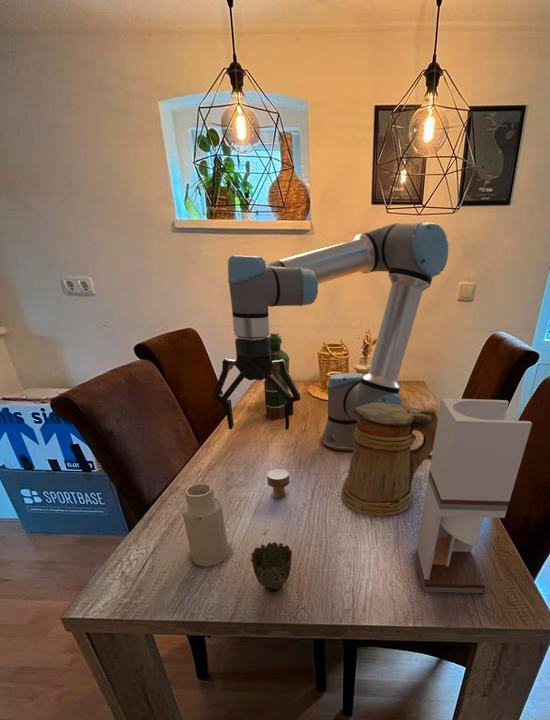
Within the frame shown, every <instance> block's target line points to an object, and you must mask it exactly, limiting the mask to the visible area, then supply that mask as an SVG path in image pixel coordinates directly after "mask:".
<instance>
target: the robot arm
mask: <svg viewBox="0 0 550 720" xmlns="http://www.w3.org/2000/svg"><path fill="white" fill-rule="evenodd" d="M449 246H450V245H449V241H448V238H447V234H446V232H445V230H444V228H443V227H442V226H441V225H440V224H438V223H435V222H427V221H419V222H404V223H403V222H402V223H397V222H396V223H390V224H386V225H384V226H381V227H377V228H375V229H372V230H369V231H366V232H363V233H359V234H356V236H354V238H353V240H350V241H346V242H343V243H339V244H335V245H331V246H328V247H327V246H326V247H324V248H320V249H315V250H312V251H308V252H304V253H301V254H296V255H294V256H290V257H286V258H282V259H278V260H275V261H274V260H273V261H270V262H267V263H266V259H265V258H264V257H263V256H260V255H259V256H258V255H257V256H256V255H255V256H254V255H231V256H229V258H228V260H227V274H228V275H227V277H228V279H227V281H228V286H229V287H228V288H229V294H230V295H229V296H230V302H231V311H232V314H231V315H232V325H233V335H234V336H235V339H234V344H235V356H236V359H230V358H229V357H225V358H224V359H223V360H222V365H221V366H222V369H221V373H220V375H219V378H218V380H217V383H216V385H215V388H214V390H213V393H212V396H211V399H212V400H213V401H219V402H220V405H221V406H220V407H221V413H222V415H223V416H226V417H227V418H226V419H227V427H228V430H233V428H234V426H235V423H234V414H233V406H232V399H229V398H230V397H231V395H233V393H234V392H235V390H236V389H237V388H238V386H239V385H240V384H241V383H242V382H243V380H244V379H246V380H248V381H254V380H256V381H263V380H265V379H266V380H267V381H268V382H269V383H270V384H271V385H272V386H273V387H274V388H275V389H276V390H277V391H278V392H279V393H280V395H281V396H282V397H283V398H284V399H285V404H284V406H285V417H284V426H285V427H284V428H285V429H284V430H285V431H288V430H290V416H291V417H292V416H293V415H294V403H295V402H299V401H300V400H301V394H300V392H299V389H298V388H297V386H296V384H295V382H294V380H293V378H292V376H291V375H290V372H289V373H288V371H287V369H286V364H285V360H284V359H280V360H278V361H272V359H271V351H270V339H269V336H270V333H271V332H270V319H269V308H270V307H288V306H289V307H291V306H292V307H293V306H294V307H296V306H299V307H303V306H309V305H313V304H314V303H315V301H316V300H317V298H318V294H319V285H320V284H323V283H326V282H329V281H333V280H336V279H339V278H343V277H346V276H349V275H352V274H356V273H359V272H360V273H361V274H365V275H366V274H369V273H373V272H375V273H376V272H384V273H385V272H387V273H388V275H387V277H388V279H389V281H390V283H391V284H390V288H389V293H388V297H387V301H386V305H385V308H384V310H383V311H384V312H383V315H382V319H381V323H380V326H379V327H380V328H379V331H378V333H377V334H378V335H377V338H376V342H375V346H374V349H373V350H374V351H373V354H372V357H371V361H370V365H369V369H368V372H367V373H366V374H363V373H360V372H341V373H336V374H332V375H331V376H330V377H329V378H328V383H327V421H326V424H325V428H324V429H323V432H322V436H321V441H322V444H323V445H324V447H327V448H328V449H331V450H334V451H339V452H340V451H341V452H353V449H354V444H355V439H354V432H355V428H356V425H357V424H358V423H359V421H360V416H359V415H357V414H356V413H354V410H355V409H356V408H357V407H360V406H363V405H366V404H369V403H387V404H395V405H401V406H404V404H403V399H402V397H401V396H400V394H399V393H400V389H401V385H400V384H399V382H398V378H399V374H400V371H401V368H402V365H403V361H404V357H405V354H406V350H407V346H408V343H409V340H410V337H411V333H412V330H413V326H414V322H415V319H416V315H417V312H418V308H419V305H420V301H421V298H422V295H423V292H424V291H425V290H427V289H429V288H430V287H431V284H432V282H433V278H434V277H436V276H439V275H440V274H441V273H442V272H443V271H444V270H445V268H446V266H447V263H448V260H449V253H450V249H449ZM273 366H275V367H276V368H277V370H280V372H281V374H282V376H283V378H284V380H285V382H286V384H287V385H288V387H289V392H288V391H287V390H286V389H285V388H284V387H283V386H282V384H281V383H280V382H279V381H278V380H277V379H276V378H275V377H274V375H273V374H272V373H271V369H272V368H273ZM233 367H235V368H236V369H237V370H238V371H239V374H238V375H237V376H236V378H235V379H234V380H233V382H231V384H230V385H229V387H228V388H227V389H226V390H225V392H224V393H223V394H221V392H222V390H223V387H224V385H225V383H226V380H227V377H228V375H229V372H230V371H231V370H232V369H233ZM427 458H430V459H431V458H432V454H429V455H428V457H427Z"/></svg>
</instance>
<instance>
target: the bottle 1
mask: <svg viewBox="0 0 550 720" xmlns="http://www.w3.org/2000/svg"><path fill="white" fill-rule="evenodd" d="M184 495H185V501H186V503H185V504H183V506H182V508H181V513H182V517H183V522H184V527H185V532H186V536H187V541H188V546H189V550H190V555H191V559H192V561H193V563H194V564H196V565H198V566H200V567H211V566H215V565H218V564H220V563H222V562H223V561H224V560H226V559H227V558H228V555H229V544H228V538H227V531H226V524H225V517H224V511H223V504H222V502H221V500H219V499H217V498H216V497H215V494H214V488H213V486H212V485H211V484H209V483H205V482H199V483H193V484H190V485H189V486H188V487H186V488H185V490H184Z"/></svg>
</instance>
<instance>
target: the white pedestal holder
mask: <svg viewBox="0 0 550 720" xmlns="http://www.w3.org/2000/svg"><path fill="white" fill-rule="evenodd" d="M509 403H510V402H509V401H508V400H506V399H504V400H503V399H482V398H481V399H480V398H479V399H478V398H451V397H450V398H449V397H448V398H447V397H441V398H440V403H439V408H438V414H437V415H438V416H437V418H438V421H437V427H436V433H435V440H434V446H433V450H432V451H431V455H432V458H430V465H429V471H428V476H427V484H426V489H425V496H424V502H423V508H422V514H421V521H420V526H419V533H418V538H417V546H416V551H415V558H416V561H417V567H418V570H419V575H420V579H421V584H422V588H423V592H425V593H426V592H427V593H428V592H429V593H464V594H465V593H468V594H469V593H471V594H483V593H484V590H485V587H486V584H485V582H484V579H483V577H482V575H481V572H480V570H479V567H478V565H477V563H476V560H475V558H474V556H473V553H472V549H473V546H477V544H478V540H479V537H480V533H481V529H482V525H483V522H484V518H493V519H495V518H496V519H505V517H506V515H507V511H508V507H509V504H510V501H511V498H512V494H513V491H514V487H515V483H516V480H517V477H518V473H519V470H520V467H521V463H522V460H523V457H524V453H525V449H526V446H527V442H528V440H529V435H530V433H531V429H532V425H533V422H531V421H530V420H509V419H508V420H507V419H506V415H507V412H508V407H509ZM505 419H506V420H505Z"/></svg>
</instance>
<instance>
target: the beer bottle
mask: <svg viewBox="0 0 550 720" xmlns="http://www.w3.org/2000/svg"><path fill="white" fill-rule="evenodd" d="M271 359H272V361H277V353H276V352H271ZM271 373H272V374H273V375H274V377H275V378H276V379H277V380H278V381H279V382H280V383H281V384H282V386H283V387H284V385H283V381H282V378H281V377H280V375H279V373H278V370H277V368H276V367H275V366H273V368H272V369H271ZM263 385H264V386H263V387H264V401H265V402H264V403H265V413H266V417H267V418H269V419H271V420H272V419H273V420H278V419H279V420H280V419H282V418H285V406H284V404H285V400H284V398H283V397H282V396H281V395H280V393H279V392H278V391H277V390H276V389H275V388H274V387H273V386H272V385H271V384H270V383H269V382H268V381H267V380H266V379H264V383H263Z"/></svg>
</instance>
